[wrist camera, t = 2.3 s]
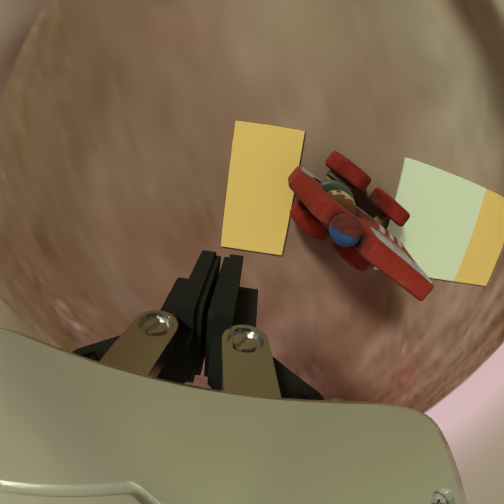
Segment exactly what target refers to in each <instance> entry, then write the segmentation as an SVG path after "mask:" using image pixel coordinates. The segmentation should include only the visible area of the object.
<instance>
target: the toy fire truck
mask: <svg viewBox="0 0 504 504" xmlns="http://www.w3.org/2000/svg"><path fill="white" fill-rule="evenodd" d="M325 164H326V166H327V167H329V168H330V169H331V171H330V172H329V173H327V176H326V178H325V181H322V180H321V179H320V178H318V177H317V176H315V175H314V174H312V173H311V172H309V171H308V170H306V169H305V168H303V167H301V166H297V167H296V168H295V169H294V171H293V172H292V173H291V175H290V176H289V177H288V183H289V188H290V189H291V190H292V191H293V192H294V193H295V194H296V196H297V197H298V198H299V199H300V200H298V201H296V203H295V204H294V205H293V207H292V208H291V210H290V216H291V218H292V219H293V221H294V222H295V223H296V224H297V225H298V226H299V227H300V228H301V229H303V230H304V231H305V232H307V233H308V234H310V235H311V236H313V237H315V238H316V239H319V240H325V239H326V238H327V237H328V236H329V235H330V236H331V238H332V240H333V241H334V243H333V245H334V248H335V249H336V251H337V252H338V254H339V255H340V256H341V257H342V258H343V259H344V260H345V261H347V262H348V263H349V264H350V265H351V266H353V267H354V268H356V269H358V270H360V271H365V270H367V269H368V267H369V266H370V265H371V264H372V265H373V266H374V267H376V268H377V269H379V270H380V271H382V272H383V273H384V274H385V275H387V276H388V277H389V278H391V279H392V280H394V281H395V282H396V283H397V284H399V285H400V286H401V287H403V288H404V289H405V290H407V291H408V292H409V293H410V294H411V295H413V296H414V297H415V298H417V299H418V300H420V301H422V300H423V299H424V298H425V297H426V296H427V295H428V294H429V293H430V291H431V290H432V289H433V283H432V282H431V280H430V279H429V278H428V276H427V275H426V273H425V272H424V271H423V270H422V269H421V268H420V267H419V266H418V265H417V263H416V262H415V261H414V259H413V258H412V257H411V255H410V254H409V253H408V252H407V250H406V249H405V248H404V245H403V244H402V243H401V242H400V241H399V240H398V239H397V238H396V237H395V236H394V235H393V234H391V233H390V232H389V231H388V230H387V229H385V228H384V227H383V226H382V224H383V223H384V222H385V220H386V219H387V217H388V218H390V219H391V220H392V221H393V222H394V223H395V224H397V225H398V226H400V227H402V226H404V224H405V223H406V222H407V220H408V219H409V218H410V214H409V213H408V211H406V210H405V209H404V208H403V207H402V206H401V205H400V204H399V203H398V202H396V201H395V200H394V199H393V198H392V197H390V196H389V195H388V194H387V193H385V192H384V191H383V190H381V189H380V188H376V189H375V190H374V191H373V192H372V194H371V195H370V196H369V201H370V202H371V203H372V204H373V205H374V206H376V207H377V208H378V209H379V210H380V211H379V213H378V214H377V215H376V217H375V218H372V217H371V216H369V215H368V214H367V213H366V212H364V211H363V210H362V209H360V208H359V207H358V206H356V204H355V201H354V197H353V194H352V191H353V189H357V190H358V191H361V192H363V191H364V190H365V189H366V188H367V186H368V185H369V184H370V182H371V178H370V177H369V176H368V175H367V174H366V173H365V172H364V171H362V170H361V169H360V168H359V167H357V166H356V165H355V164H353V163H352V162H351V161H350V160H348V159H347V158H346V157H344V156H343V155H341V154H340V153H338V152H336V151H333V152H332V153H331V155H330V156H329V157H328V159H327V160H326V162H325Z"/></svg>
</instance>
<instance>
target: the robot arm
mask: <svg viewBox="0 0 504 504" xmlns="http://www.w3.org/2000/svg"><path fill="white" fill-rule="evenodd" d="M220 261H221V256H216V252H212V251H205V250H203V251H202V252H201V255H200V257H199V259H198V261H197V263H196V265H195V267H194V269H193V271H192V273H191V275H190V277H189V279H186V278H180V277H179V278H178V279H177V280H176V282H175V284H174V286H173V287H172V289H171V291H170V293H169V295H168V297H167V299H166V301H165V303H164V304H163V306H162V308H161V310H151V311H146V312H144V313H142V314H140V315H139V316H138V317H136V318H135V320H134V321H133V322H132V323H131V324H130V325H129V327H128V328H127V329H126V330H125V331H124V332H123V334H122V335H120V336H117V337H114V338H111V339H108V340H104V341H101V342H98V343H95V344H91V345H88V346H85V347H81V348H79V349H77V350H74V351H73V352H70V350H69V349H64V348H58V347H55V346H53V345H50V344H48V343H45V342H42V341H39V340H37V339H34V338H32V337H29V336H27V335H24V334H22V333H19V332H15V331H12V330H9V329H3V328H0V504H467V501H466V496H465V492H464V488H463V485H462V481H461V478H460V475H459V472H458V469H457V466H456V463H455V460H454V457H453V455H452V452H451V450H450V447H449V445H448V443H447V441H446V439H445V437H444V435H443V433H442V432H441V430H440V428H439V427H438V425H437V424H436V423H435V422H434V421H433V420H432V419H431V418H430V417H429V416H427V415H426V414H424V413H422V412H420V411H417V410H414V409H411V408H408V407H404V406H400V405H395V404H388V403H380V402H368V401H347V400H342V399H337V398H331V400H325V399H324V398H323V396H322V395H321V394H320V393H319V392H318V391H316V390H315V389H314V388H312V387H311V386H310V385H308V384H307V383H306V382H304V381H303V380H302V379H300V378H299V377H298V376H296V375H295V374H294V373H293V372H291V371H290V370H289V369H288V368H286V367H285V366H284V365H282V364H281V363H280V362H279V361H277V360H276V359H275V358H274V357H272V353H271V348H270V344H269V340H268V338H267V335H266V334H265V333H264V332H263V331H261V330H260V329H258V328H256V317H257V299H258V289H251V288H244V287H239V285H240V278H241V271H242V264H243V256H239V255H232V254H230V257H224V260H223V264H222V267H221V270H220ZM219 271H220V273H219ZM204 358H205V373H204V376H206V377H208V385H209V386H210V387H211V388H212V389H209V388H204V387H198V386H193V385H188V384H183V383H185V382H192V383H193V381H194V377H195V375H200V374H201V370H202V366H203V362H204Z"/></svg>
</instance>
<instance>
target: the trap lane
mask: <svg viewBox="0 0 504 504" xmlns="http://www.w3.org/2000/svg"><path fill="white" fill-rule="evenodd" d="M304 134H305V131H301V130H295V129H290V128H284V127H278V126H271V125H265V124H257V123H250V122H242V121H236V123H235V130H234V138H233V145H232V153H231V161H230V169H229V177H228V185H227V194H226V203H225V212H224V221H223V230H222V240H221V246H223V247H230V248H236V249H243V250H250V251H256V252H263V253H270V254H276V255H282V252H283V247H284V242H285V237H286V232H287V227H288V222H289V217H290V210H291V206H292V201H293V196H294V192H293V191H292V190H291V189H290V188H289V183H288V177H289V176H290V175H291V173H292V172H293V171H294V169H295V168H296V167H297V166H299V163H300V157H301V151H302V146H303V140H304ZM395 201H396V202H398V203H399V204H400V205H401V206H402V207H403V208H404V209H405V210H406V211H408V213H409V214H410V218H409V219H408V220H407V222H406V223H405V224H404V226H402V227H400V226H398V225H397V224H395V223H394V222H393V221H392V220H391V219H390V218H389V222H388V225H387V228H386V229H387V230H388V231H389V232H390V233H391V234H393V235H394V236H395V237H396V238H397V239H398V240H399V241H400V242H401V243H402V244H403V245H404V248H405V249H406V250H407V252H408V253H409V254H410V255H411V257H412V258H413V259H414V261H415V262H416V263H417V265H418V266H419V267H420V268H421V269H422V270H423V271H424V272H425V273H426V275H427V276H428V277H429V278H436V279H443V280H449V281H456V282H462V283H469V284H476V285H482V286H486V284H487V282H488V280H489V278H490V276H491V273H492V271H493V269H494V266H495V264H496V262H497V259H498V257H499V254H500V251H501V249H502V246H503V244H504V197H502V196H500V195H498V194H496V193H494V192H492V191H490V190H488V189H486V188H484V187H481V186H479V185H477V184H475V183H472V182H470V181H468V180H465V179H463V178H461V177H458V176H456V175H453V174H451V173H448V172H446V171H443V170H441V169H438V168H435V167H432V166H430V165H427V164H424V163H421V162H418V161H416V160H413V159H410V158H406V157H405V159H404V164H403V168H402V173H401V177H400V181H399V185H398V189H397V193H396V197H395ZM374 269H376V270H379V269H377V268H376V267H374Z"/></svg>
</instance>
